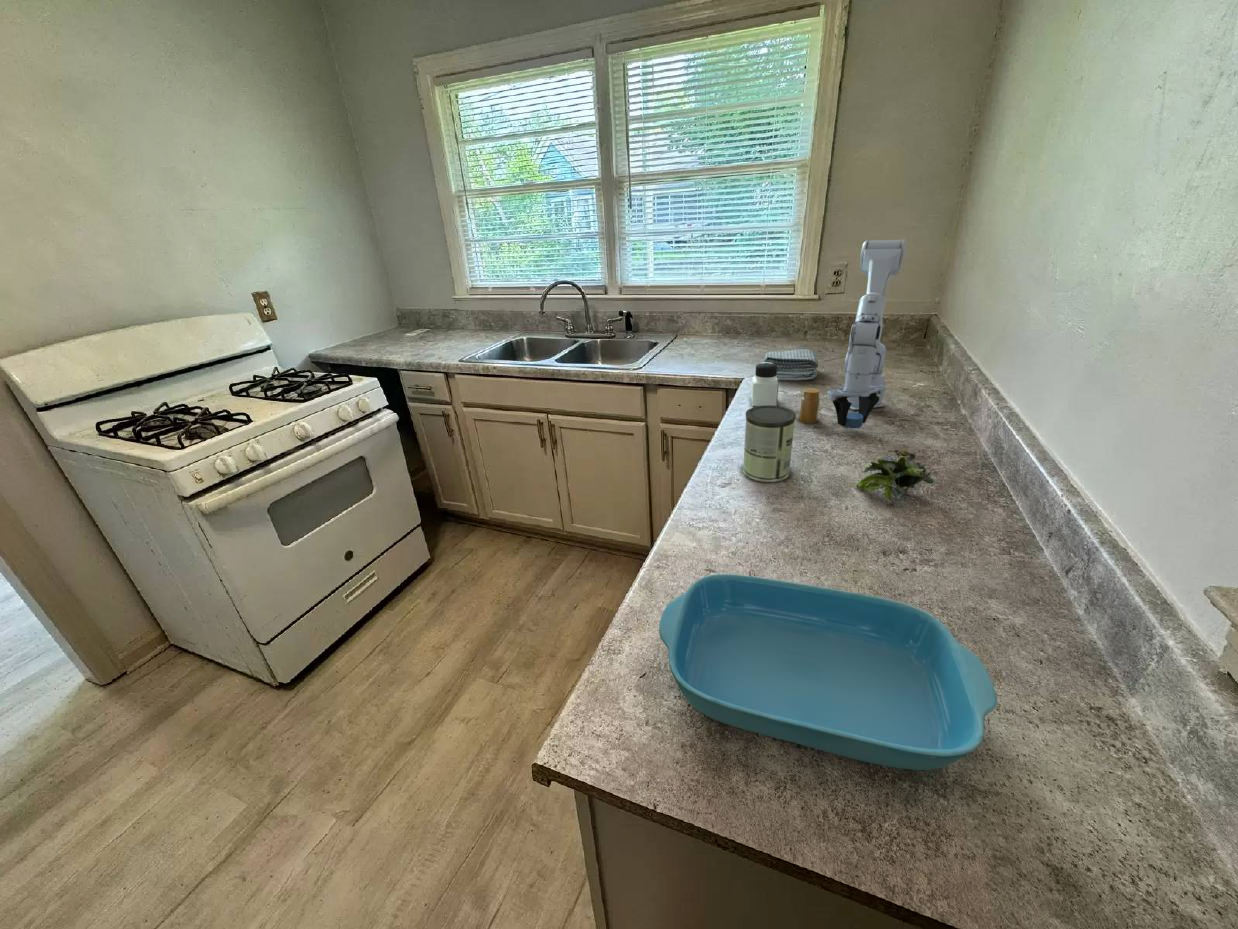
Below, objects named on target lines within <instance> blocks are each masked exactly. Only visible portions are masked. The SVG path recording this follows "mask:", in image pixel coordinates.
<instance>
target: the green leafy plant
mask: <svg viewBox="0 0 1238 929" xmlns="http://www.w3.org/2000/svg"><path fill="white" fill-rule="evenodd" d="M894 453H895V454H896V456H897V457H896V456H891V455H889V456H888V454H887V455H886V456H884V457H882V456H881V457H876V461H877V462H875V461H872V460H870V463H869V464H868V466H867V467H866V468H865V469H864V471H863V473H869V472H873V471H874V472H875V471H879V472H875V473H872V474H870V475H867V476H865V477H864V478H862V479H861V480H860V481H859V482H858V483H857V484H856V489H859V490H860V491H861V490H862V491H863V492H869V491H870V492H871V491H874V490H878V489H883V488H884V490H883V491H884V495H885V497H886V499H887V500H888V501H889V502H891V501H892V492H893V495H894V500H893V502H892V503H891V504H890V506H893V505H895V503H896V502H897V501H898V499H899V498H900V497H901V496H902V495H904V494H906V493H907V491H909V489H914V488H915V487H916V485H917V484H919V483H921V482H925V483H927V484H934V482H935V480H934V479H933V478H931V471H928V472H927V468H926V465H927V464H925V463H922V462H919V461H915V459H916V457H917V454H916V453H914V452H910V451H908V450H905V449H904V450H900V449H894ZM921 463H922V464H921ZM893 490H894V491H893Z"/></svg>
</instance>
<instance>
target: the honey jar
mask: <svg viewBox="0 0 1238 929" xmlns="http://www.w3.org/2000/svg"><path fill="white" fill-rule="evenodd" d="M802 392H803V393H802V396H801V401H800V408H799V417H798V419H799V422H801V423H804V424H815V423H817V421H818V415H819V410H820V409H819V408H820V401H821V398H820V393H821V391H820V389H818V388H816V387H807V388H806V387H805V388H804V389H803V391H802Z"/></svg>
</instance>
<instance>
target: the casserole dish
mask: <svg viewBox="0 0 1238 929" xmlns="http://www.w3.org/2000/svg"><path fill="white" fill-rule="evenodd" d="M658 633H659V637H660V640H661V642H662V643H663V644H664V645H665V646H666V648H667V649H668V666H669V668H670V673H671V674H672V677H673V679H674V680H675V682H676V684H677V687H678V688H679V690H680V693H681V694H682V696H683V697H684V698H685V700H686V701H687V702H688V703H689V704H690V705H691V706H692V707H693V708H694V709H695V710H697V711H698V712H699V713H701V714H703V715H705V716H706V717H708V718H710V719H712V720H715V721H717V722H720V723H722V724H725V725H728V726H730V727H735V728H737V729H740V730H744V731H747V732H752V733H755V734H758V735H762V736H767V737H770V738H773V739H777V740H781V741H786V742H790V743H792V744H793V743H794V744H798V745H801V746H804V747H808V748H812V749H815V750H817V751H818V750H819V751H822V752H826V753H829V754H833V755H837V756H841V757H845V758H849V759H852V760H857V761H860V762H865V763H869V764H874V765H878V766H884V767H889V768H896V769H902V770H913V771H929V770H936V769H939V768H943V767H946V766H949V765H951V764H953V763H956V762H957V761H959V760H960V759H962V758H964V757H965V756H967V755H969V754H971V753H973V752H974V751H975V750H976V749H978V748H979V747H980V745H981V743H982V741H983V740H984V736H985V717H986V716H987V715H989V714H990V713H991V712H993V710H994V709H995V708H996V706H997V704H998V703H997V702H998V696H997V692H996V689H995V686H994V683H993V681H992V679H991V676H990V673H989V672H988V670H987V668H986V666H985V664H984V663H983V662H982V660H980V658H979V657H978V656H977V655H976V654H975V653H974V652H972V651H971V650H969V649H968V648H967V647H965V646H964V645H963V644H961V643H960V642H959V641H958V640H957V639H956V638H955V636H954V635H953V634H952V632H951V631H950V629H949V628H948V627H947V626H946V625H945V624H944V623H943V622H942V621H941V620H939V619H938V618H937V617H935V616H933V615H932V614H930V613H929V612H926V610H923V609H920V608H918V607H916V606H913V605H910V604H907V603H905V602H900V601H897V600H892V599H888V598H884V597H879V596H875V595H869V594H863V593H858V592H853V591H848V590H847V591H846V590H841V589H834V588H828V587H822V586H815V585H810V584H809V585H808V584H803V583H798V582H792V581H786V580H779V579H778V580H777V579H772V578H765V577H759V576H753V575H752V576H751V575H744V574H736V573H735V574H734V573H719V574H718V573H717V574H710V575H705V576H703V577H700V578H699V579H697V580H696V581H694V582H693V583H692V584H691V585H690V586H689V587H688V588H687V589H686V591H685V592H684V593H683V594H681V595H678V596H677V597H676V598H674V599H673V600H671V601H670V602H669V603H668V604H667V605H666V607H665V608H664V610H663V612H662V614H661V617H660V621H659V626H658Z"/></svg>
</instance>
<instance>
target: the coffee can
mask: <svg viewBox="0 0 1238 929" xmlns="http://www.w3.org/2000/svg"><path fill="white" fill-rule="evenodd" d="M796 418H797V414H796V412H795V411H794V410H792V409H791V408H788V407H784V406H780V405H777V406H772V405H766V406H752V407H750V408H749V409H747V410H746V411H745V428H744V431H745V432H744V448H743V466H742V473H743V475H745V476H746V477H747V478H749V479H751V480H753V481H757V482H761V483H777V482H781V481H784V480H786V479H788V477H789V476H790V473H791V471H790V470H791V462H792V461H791V460H792V452H793V450H792V449H793V440H794V431H795V422H796V421H795V420H796Z"/></svg>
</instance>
